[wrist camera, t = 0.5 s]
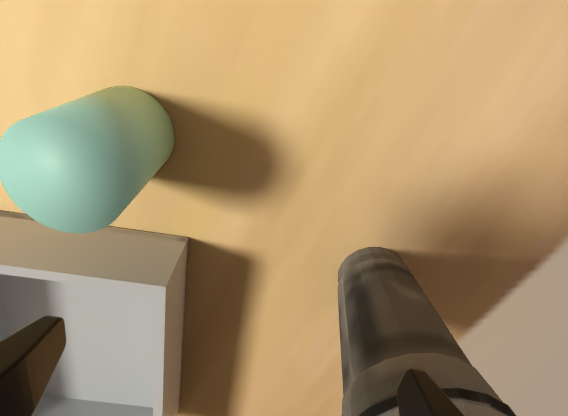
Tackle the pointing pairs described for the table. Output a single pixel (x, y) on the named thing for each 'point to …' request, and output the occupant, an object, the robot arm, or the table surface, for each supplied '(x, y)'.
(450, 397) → the beverage cup
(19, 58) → the table surface
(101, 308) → the tote
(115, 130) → the teal cylinder
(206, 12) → the table surface
